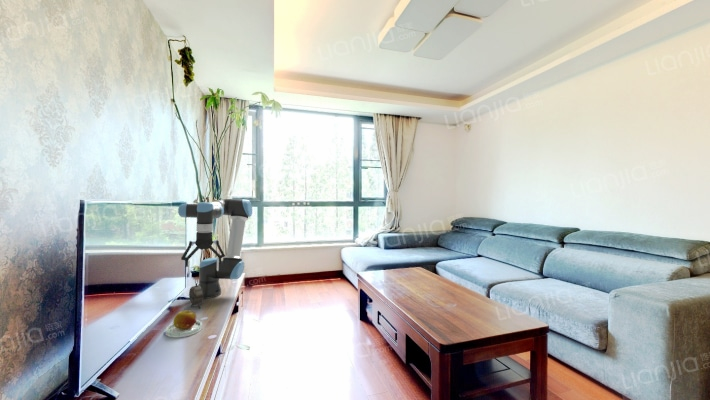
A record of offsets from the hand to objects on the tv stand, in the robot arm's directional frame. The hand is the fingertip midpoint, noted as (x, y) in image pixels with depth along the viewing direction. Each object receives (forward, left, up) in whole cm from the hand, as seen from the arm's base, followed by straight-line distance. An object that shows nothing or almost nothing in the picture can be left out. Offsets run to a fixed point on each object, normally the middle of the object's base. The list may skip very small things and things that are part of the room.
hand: (203, 271), depth 149 cm
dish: (+12, -7, -24) cm, 28 cm away
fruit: (+12, -7, -24) cm, 28 cm away
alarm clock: (-18, -2, -25) cm, 31 cm away
